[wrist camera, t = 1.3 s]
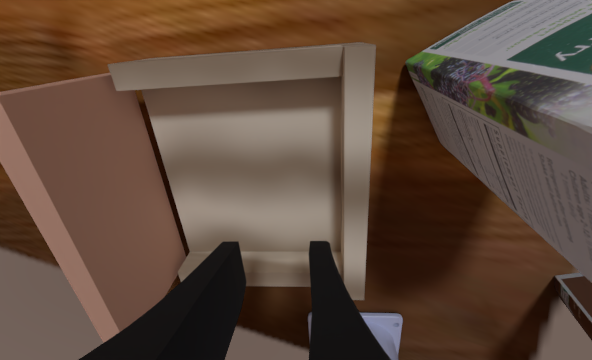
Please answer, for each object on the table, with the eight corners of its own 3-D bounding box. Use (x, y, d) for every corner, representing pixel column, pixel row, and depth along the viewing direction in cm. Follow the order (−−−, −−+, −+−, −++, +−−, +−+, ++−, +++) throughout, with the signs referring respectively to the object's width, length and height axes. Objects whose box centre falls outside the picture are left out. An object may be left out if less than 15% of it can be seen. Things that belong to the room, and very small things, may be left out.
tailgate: (186, 259, 21) (130, 352, 15) (161, 259, 21) (94, 351, 15) (128, 71, 15) (-3, 96, 9) (94, 74, 16) (-57, 100, 9)
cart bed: (355, 246, 22) (364, 300, 17) (203, 246, 23) (175, 297, 19) (360, 42, 16) (375, 45, 11) (152, 58, 17) (92, 66, 12)
